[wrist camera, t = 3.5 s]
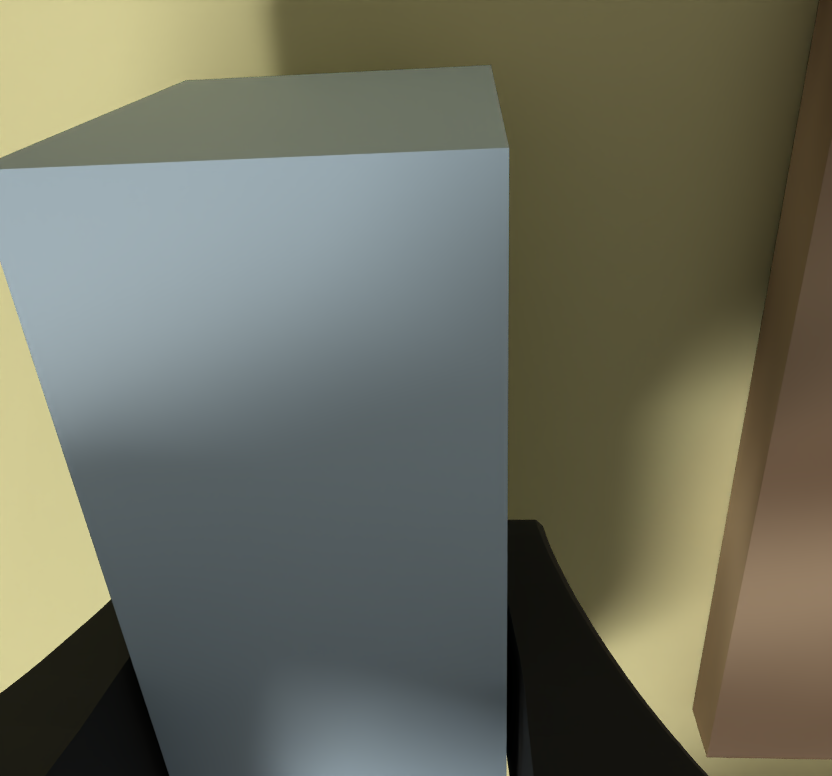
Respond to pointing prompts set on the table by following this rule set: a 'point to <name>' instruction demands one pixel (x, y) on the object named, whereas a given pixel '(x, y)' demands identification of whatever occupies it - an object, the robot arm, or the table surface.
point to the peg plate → (783, 483)
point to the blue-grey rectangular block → (287, 407)
